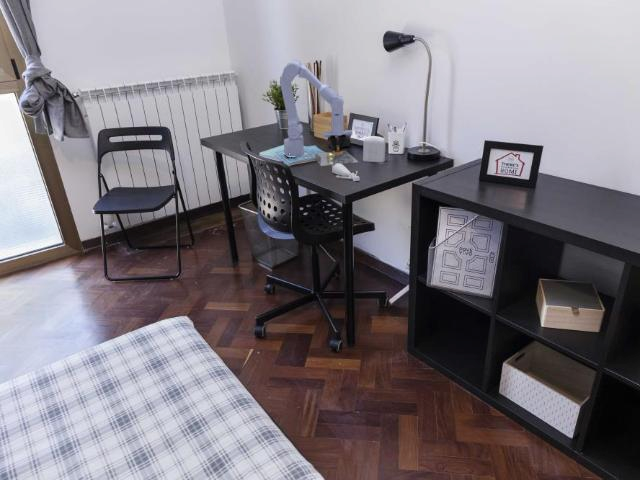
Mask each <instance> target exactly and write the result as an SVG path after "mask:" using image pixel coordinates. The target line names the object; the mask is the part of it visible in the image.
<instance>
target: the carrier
mask: <svg viewBox="0 0 640 480" xmlns="http://www.w3.org/2000/svg"><path fill="white" fill-rule="evenodd" d="M342 151H343V154H342V155H335V153H334V152H333V151H328V152H327V151H326V152H320V153H319V152H316V153H310V155H311V156H312V158H314V160H316V162H317V163H318V164H319V165H320V166H321V167H323V166H324V167H326V166H332V165H333V166H334V165H335V164H338V163H341V164H342V165H344V164H352V163H353V164H354V163H359V161H358V160H357V158H355V157H354V156H353V155H351V154H350V153H349V152H348V151H347V150H342Z"/></svg>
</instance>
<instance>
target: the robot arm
mask: <svg viewBox="0 0 640 480" xmlns="http://www.w3.org/2000/svg"><path fill="white" fill-rule="evenodd" d="M296 77H298V78H300V79H305V80H306V81H308V82H309V83H310V84H311V85H312V86H313V87H315V88H316V89H317V91H318V95H319V96H320V97H321V98H322V99H323V100H325V102H327V104H330V107H331V113H330V114H331V115H330V116H331V130H329V131H326V132H322V135H321V136H322V138H328V137H329V138H330V140H331V142H332V145H333V149H334V150H333V151H336V140H337V139H336V137H337V136H339V146H340V151H343V148H342V147H343V144H344V141H345V140H346V136H345V135H348V136H353V130H351V129H349V130H348V129H347V130H344V105H345V101H344V99H343V96H341V95H340V94H339V93H336V92H335V91H334V89H332V86H331V85H330V84H323V83H322V82H321V81H320V80H319V78H317V77H316V76H315V74H313V73H312V72H311V70H310V69H309V68H308V67H306V65H305V64H304V63H301V61H299V60H297V59H293V60H292V61H290V62H288V63H287V65H285V66H284V68H283V71H282V73H281V77H280V79H279V82H280V83H279V84H280V89H281V94H282V98H283V102H284V107H285V113H286V116H287V135H288V137H287V138H284V139H283V148H284V153H285V154H284V155H286V156H287V157H288V156H297V157H298V156H303V155H304V153H305V151H304V150H305V149H304V146H305V145H304V136H303V134H302V133H303V132H304V126H303V124H302V123H301V119H300V117H299V114H298V111H297V106H296V100H295V97H294V91H293V86H292V82H293V81H294V79H295V78H296ZM289 153H290V155H289ZM286 156H285V157H286ZM287 157H286V158H287Z"/></svg>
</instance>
